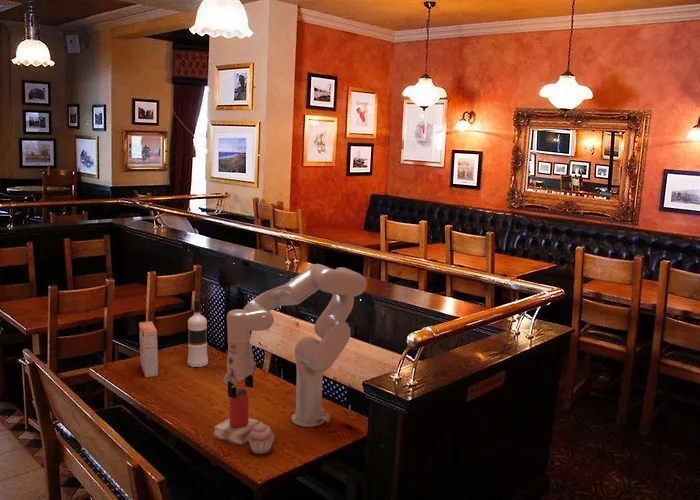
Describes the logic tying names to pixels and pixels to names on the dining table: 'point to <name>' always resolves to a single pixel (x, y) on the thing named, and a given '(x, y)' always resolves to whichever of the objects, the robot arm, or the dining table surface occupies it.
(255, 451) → the cupcake
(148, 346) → the cracker box
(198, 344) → the vodka
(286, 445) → the dining table surface
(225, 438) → the stand
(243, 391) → the beer can
